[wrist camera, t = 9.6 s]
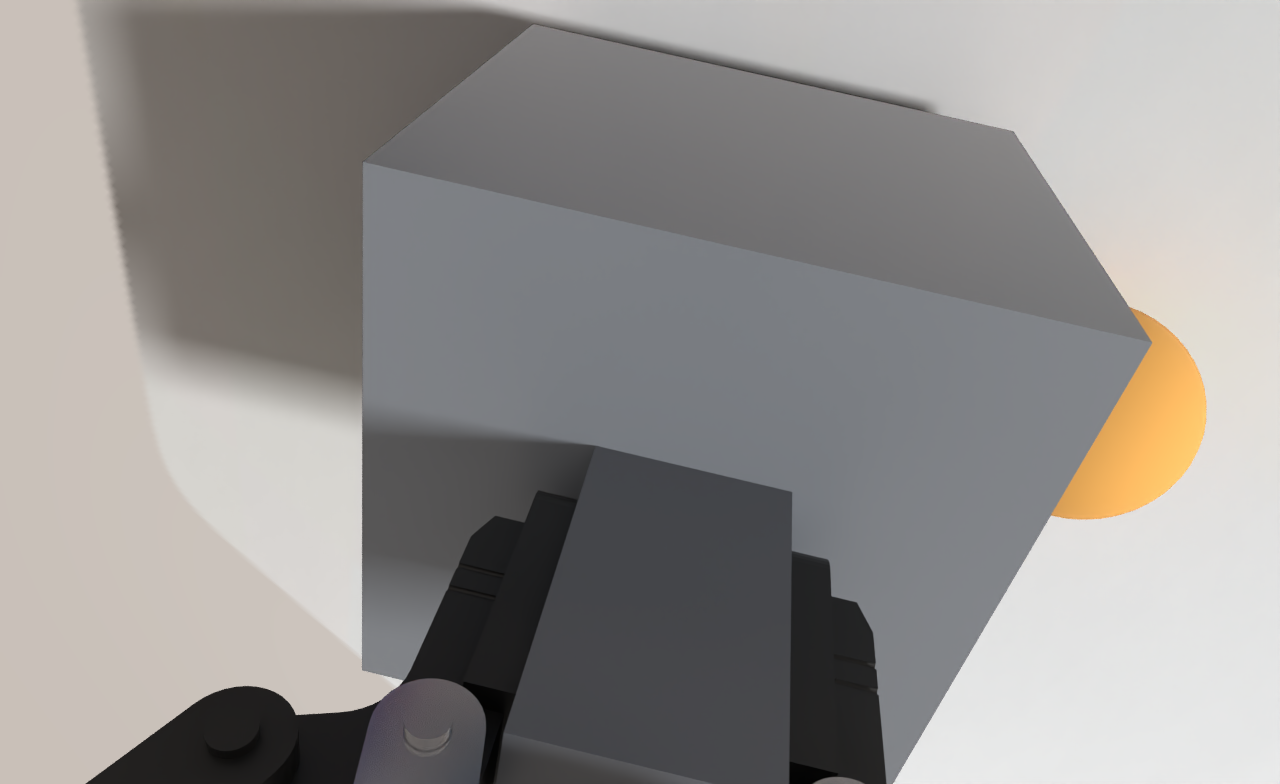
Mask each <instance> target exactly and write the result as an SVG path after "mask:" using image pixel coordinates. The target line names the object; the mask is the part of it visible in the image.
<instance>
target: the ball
mask: <svg viewBox="0 0 1280 784" xmlns="http://www.w3.org/2000/svg"><path fill="white" fill-rule="evenodd" d="M1129 308H1130V307H1129ZM1130 309H1131V311H1132V312H1133V314H1134V315H1135V317H1136V318H1137V320H1138V321H1139V323H1140V324H1141V326H1142V327H1143V329H1144V330H1145V332H1146V334H1147V335H1148V337H1149V338H1150V340H1151V341H1152V344H1151V346H1150V348H1149V349H1148V351H1147V353H1146V355H1145V356H1144V358H1143V360H1142V361H1141V363H1140V365H1139V366H1138V368H1137V370H1136V372H1135V373H1134V375H1133V377H1132V378H1131V380H1130V382H1129V383H1128V385H1127V387H1126V388H1125V390H1124V392H1123V394H1122V395H1121V397H1120V399H1119V400H1118V402H1117V404H1116V405H1115V407H1114V409H1113V411H1112V412H1111V414H1110V416H1109V417H1108V419H1107V421H1106V422H1105V424H1104V426H1103V428H1102V429H1101V431H1100V433H1099V434H1098V436H1097V438H1096V439H1095V441H1094V443H1093V445H1092V446H1091V448H1090V450H1089V451H1088V453H1087V455H1086V456H1085V458H1084V460H1083V462H1082V463H1081V465H1080V467H1079V468H1078V470H1077V472H1076V473H1075V475H1074V477H1073V478H1072V480H1071V482H1070V484H1069V485H1068V487H1067V489H1066V490H1065V492H1064V494H1063V495H1062V497H1061V499H1060V501H1059V502H1058V504H1057V506H1056V507H1055V509H1054V511H1053V512H1052V514H1051V515H1052V516H1057V517H1062V518H1067V519H1102V518H1107V517H1113V516H1117V515H1121V514H1124V513H1127V512H1130V511H1133V510H1136V509H1138V508H1140V507H1142V506H1144V505H1146V504H1148V503H1150V502H1151V501H1153V500H1155V499H1156V498H1158V497H1159V496H1161V495H1162V494H1164V493H1165V492H1166V491H1167V490H1168V489H1170V488H1171V487H1172V486H1173V485H1174V484H1175V483H1176V482H1177V481H1178V480H1179V479H1180V478H1181V477H1182V475H1183V474H1184V473H1185V471H1186V470H1187V469H1188V467H1189V466H1190V465H1191V463H1192V461H1193V459H1194V457H1195V455H1196V453H1197V451H1198V449H1199V447H1200V444H1201V441H1202V438H1203V435H1204V430H1205V424H1206V397H1205V390H1204V385H1203V382H1202V379H1201V375H1200V373H1199V371H1198V368H1197V366H1196V364H1195V362H1194V360H1193V359H1192V357H1191V355H1190V354H1189V352H1188V351H1187V349H1186V348H1185V347H1184V345H1183V344H1182V343H1181V342H1180V341H1179V339H1178V338H1177V337H1176V336H1175V335H1174V334H1173V333H1171V332H1170V331H1169V330H1168V329H1167V328H1166V327H1165V326H1163V325H1162V324H1160V323H1159V322H1158V321H1156V320H1155V319H1153V318H1151V317H1150V316H1148V315H1146V314H1144V313H1142V312H1140V311H1138V310H1135V309H1133V308H1130Z"/></svg>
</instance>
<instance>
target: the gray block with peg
mask: <svg viewBox="0 0 1280 784" xmlns="http://www.w3.org/2000/svg"><path fill="white" fill-rule="evenodd" d="M1151 344H1152V341H1151V340H1150V338H1149V337H1148V335H1147V334H1146V332H1145V330H1144V329H1143V327H1142V326H1141V324H1140V323H1139V321H1138V320H1137V318H1136V317H1135V315H1134V314H1133V312H1132V311H1131V309H1130V308H1129V306H1128V305H1127V303H1126V302H1125V300H1124V299H1123V297H1122V296H1121V294H1120V293H1119V291H1118V290H1117V288H1116V286H1115V285H1114V283H1113V282H1112V280H1111V279H1110V277H1109V276H1108V274H1107V273H1106V271H1105V270H1104V268H1103V267H1102V265H1101V264H1100V262H1099V261H1098V259H1097V258H1096V256H1095V255H1094V253H1093V252H1092V250H1091V249H1090V247H1089V246H1088V244H1087V242H1086V241H1085V239H1084V238H1083V236H1082V235H1081V233H1080V232H1079V230H1078V229H1077V227H1076V226H1075V224H1074V223H1073V221H1072V220H1071V218H1070V217H1069V215H1068V214H1067V212H1066V211H1065V209H1064V208H1063V206H1062V205H1061V203H1060V202H1059V200H1058V199H1057V197H1056V195H1055V194H1054V192H1053V191H1052V189H1051V188H1050V186H1049V185H1048V183H1047V182H1046V180H1045V179H1044V177H1043V176H1042V174H1041V173H1040V171H1039V170H1038V168H1037V167H1036V165H1035V164H1034V162H1033V161H1032V159H1031V158H1030V156H1029V155H1028V153H1027V151H1026V150H1025V148H1024V147H1023V145H1022V144H1021V142H1020V141H1019V139H1018V138H1017V136H1016V135H1015V133H1014V132H1013V131H1009V130H1005V129H1000V128H996V127H991V126H987V125H982V124H978V123H974V122H969V121H965V120H960V119H956V118H951V117H947V116H942V115H938V114H933V113H929V112H924V111H920V110H915V109H911V108H906V107H902V106H898V105H893V104H889V103H884V102H880V101H875V100H871V99H866V98H862V97H857V96H853V95H848V94H844V93H839V92H835V91H830V90H826V89H821V88H817V87H813V86H808V85H804V84H799V83H795V82H790V81H786V80H781V79H777V78H772V77H768V76H763V75H759V74H754V73H750V72H745V71H741V70H737V69H732V68H728V67H723V66H719V65H714V64H710V63H705V62H701V61H696V60H692V59H687V58H683V57H678V56H674V55H669V54H665V53H661V52H656V51H652V50H647V49H643V48H638V47H634V46H629V45H625V44H620V43H616V42H611V41H607V40H602V39H598V38H593V37H589V36H584V35H580V34H576V33H571V32H567V31H562V30H558V29H553V28H549V27H544V26H540V25H535V24H532V25H531V26H530V27H529V28H528V29H526V30H525V31H524V32H523V33H521V34H520V35H519V36H518V37H516V38H515V39H514V40H513V41H511V42H510V43H509V44H508V45H507V46H505V47H504V48H503V49H502V50H500V51H499V52H498V53H497V54H495V55H494V56H493V57H492V58H491V59H489V60H488V61H487V62H486V63H484V64H483V65H482V66H481V67H479V68H478V69H477V70H476V71H474V72H473V73H472V74H471V75H470V76H468V77H467V78H466V79H465V80H463V81H462V82H461V83H460V84H458V85H457V86H456V87H455V88H453V89H452V90H451V91H450V92H449V93H447V94H446V95H445V96H444V97H442V98H441V99H440V100H439V101H437V102H436V103H435V104H434V105H432V106H431V107H430V108H429V109H428V110H426V111H425V112H424V113H423V114H421V115H420V116H419V117H418V118H416V119H415V120H414V121H413V122H411V123H410V124H409V125H408V126H407V127H405V128H404V129H403V130H402V131H400V132H399V133H398V134H397V135H395V136H394V137H393V138H392V139H390V140H389V141H388V142H387V143H386V144H384V145H383V146H382V147H381V148H379V149H378V150H377V151H376V152H374V153H373V154H372V155H371V156H369V157H368V158H367V159H366V160H365V161H363V395H362V670H363V671H368V672H372V673H376V674H380V675H384V676H388V677H392V678H396V679H400V680H405V678H406V677H407V675H408V673H409V671H410V670H411V668H412V665H413V663H414V661H415V659H416V656H417V654H418V652H419V650H420V648H421V645H422V643H423V641H424V639H425V637H426V634H427V632H428V630H429V628H430V626H431V623H432V621H433V619H434V617H435V614H436V612H437V610H438V608H439V606H440V603H441V601H442V599H443V597H444V595H445V592H446V590H448V587H449V584H450V581H451V579H452V577H453V575H454V572H455V570H456V568H458V565H459V561H460V559H461V557H462V555H463V553H464V550H465V548H466V546H467V544H468V542H469V539H470V537H471V536H472V535H473V534H474V533H475V532H476V531H477V530H479V529H480V528H481V527H482V526H483V525H485V524H486V523H487V522H488V521H489V520H491V519H492V518H493V517H494V516H499V517H503V518H507V519H512V520H516V521H520V522H524V523H525V520H526V518H527V515H528V512H529V510H530V507H531V505H532V502H533V499H534V497H535V495H536V493H537V491H538V490H540V491H544V492H548V493H552V494H556V495H561V496H565V497H569V498H573V499H578V502H577V505H576V508H575V511H574V515H573V518H572V521H571V524H570V527H569V530H568V533H567V536H566V540H565V543H564V546H563V549H562V552H561V555H560V558H559V561H558V564H557V568H556V571H555V574H554V577H553V580H552V583H551V586H550V589H549V593H548V596H547V599H546V602H545V605H544V608H543V611H542V614H541V618H540V621H539V624H538V627H537V630H536V633H535V636H534V639H533V642H532V646H531V649H530V652H529V655H528V658H527V661H526V664H525V667H524V671H523V674H522V677H521V680H520V683H519V686H518V689H517V692H516V696H515V699H514V702H513V705H512V708H511V711H510V714H509V717H508V720H507V724H506V727H505V730H504V734H503V740H502V747H501V754H500V760H499V767H498V774H497V780H496V784H789V745H790V656H791V566H792V551H795V552H799V553H803V554H807V555H811V556H816V557H820V558H824V559H828V560H829V563H830V573H831V596H832V597H837V598H841V599H845V600H849V601H853V602H857V604H858V605H859V607H860V609H861V611H862V613H863V615H864V617H865V618H866V620H867V622H868V624H869V626H870V628H871V630H872V631H873V637H874V648H875V659H876V664H875V669H876V670H877V681H878V690H877V695H879V704H880V715H881V726H882V737H883V748H884V760H885V771H886V782H887V784H893V782H894V781H895V779H896V777H897V776H898V774H899V772H900V771H901V769H902V767H903V765H904V764H905V762H906V760H907V759H908V757H909V755H910V754H911V752H912V750H913V748H914V747H915V745H916V743H917V742H918V740H919V738H920V737H921V735H922V733H923V731H924V730H925V728H926V726H927V725H928V723H929V721H930V720H931V718H932V716H933V714H934V713H935V711H936V709H937V708H938V706H939V704H940V703H941V701H942V699H943V698H944V696H945V694H946V692H947V691H948V689H949V687H950V686H951V684H952V682H953V681H954V679H955V677H956V675H957V674H958V672H959V670H960V669H961V667H962V665H963V664H964V662H965V660H966V658H967V657H968V655H969V653H970V652H971V650H972V648H973V647H974V645H975V643H976V641H977V640H978V638H979V636H980V635H981V633H982V631H983V630H984V628H985V626H986V624H987V623H988V621H989V619H990V618H991V616H992V614H993V613H994V611H995V609H996V608H997V606H998V604H999V602H1000V601H1001V599H1002V597H1003V596H1004V594H1005V592H1006V591H1007V589H1008V587H1009V585H1010V584H1011V582H1012V580H1013V579H1014V577H1015V575H1016V574H1017V572H1018V570H1019V568H1020V567H1021V565H1022V563H1023V562H1024V560H1025V558H1026V557H1027V555H1028V553H1029V551H1030V550H1031V548H1032V546H1033V545H1034V543H1035V541H1036V540H1037V538H1038V536H1039V535H1040V533H1041V531H1042V529H1043V528H1044V526H1045V524H1046V523H1047V521H1048V519H1049V518H1050V516H1051V514H1052V512H1053V511H1054V509H1055V507H1056V506H1057V504H1058V502H1059V501H1060V499H1061V497H1062V495H1063V494H1064V492H1065V490H1066V489H1067V487H1068V485H1069V484H1070V482H1071V480H1072V478H1073V477H1074V475H1075V473H1076V472H1077V470H1078V468H1079V467H1080V465H1081V463H1082V462H1083V460H1084V458H1085V456H1086V455H1087V453H1088V451H1089V450H1090V448H1091V446H1092V445H1093V443H1094V441H1095V439H1096V438H1097V436H1098V434H1099V433H1100V431H1101V429H1102V428H1103V426H1104V424H1105V422H1106V421H1107V419H1108V417H1109V416H1110V414H1111V412H1112V411H1113V409H1114V407H1115V405H1116V404H1117V402H1118V400H1119V399H1120V397H1121V395H1122V394H1123V392H1124V390H1125V388H1126V387H1127V385H1128V383H1129V382H1130V380H1131V378H1132V377H1133V375H1134V373H1135V372H1136V370H1137V368H1138V366H1139V365H1140V363H1141V361H1142V360H1143V358H1144V356H1145V355H1146V353H1147V351H1148V349H1149V348H1150V346H1151Z"/></svg>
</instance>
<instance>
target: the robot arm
mask: <svg viewBox="0 0 1280 784" xmlns="http://www.w3.org/2000/svg"><path fill="white" fill-rule="evenodd" d="M577 502H578V499H573V498H569V497H565V496H561V495H556V494H552V493H548V492H544V491H540V490H538V491H537V493H536V495H535V497H534V499H533V502H532V505H531V507H530V510H529V512H528V515H527V518H526V520H525V523H524V522H520V521H516V520H512V519H507V518H503V517H499V516H494V517H493V518H492V519H491V520H489V521H488V522H487V523H486V524H485V525H483V526H482V527H481V528H480V529H479V530H477V531H476V532H475V533H474V534H473V535H472V536H471V537H470V539H469V542H468V544H467V546H466V548H465V550H464V553H463V555H462V557H461V559H460V561H459V565H458V568H456V570H455V572H454V575H453V577H452V579H451V581H450V584H449V587H448V590H446V592H445V595H444V597H443V599H442V601H441V603H440V606H439V608H438V610H437V612H436V614H435V617H434V619H433V621H432V623H431V626H430V628H429V630H428V632H427V634H426V637H425V639H424V641H423V643H422V645H421V648H420V650H419V652H418V654H417V656H416V659H415V661H414V663H413V665H412V668H411V670H410V671H409V673H408V675H407V677H406V678H405V680H404V681H403V682H402V683H401V685H400V686H399V687H397V688H396V689H394V690H392V691H391V692H390V693H389V694H387V695H386V696H385V697H384V698H383V699H382V700H380V701H379V702H377V703H375V704H373V705H370V706H367V707H365V708H362V709H358V710H354V711H348V712H340V713H324V714H307V715H295V712H294V710H293V708H292V707H291V705H290V704H289V703H288V702H287V701H286V700H285V699H284V698H283V697H282V696H280V695H279V694H277V693H275V692H273V691H271V690H268V689H264V688H260V687H252V686H243V687H233V688H228V689H224V690H221V691H218V692H215V693H213V694H210V695H208V696H206V697H204V698H202V699H201V700H199V701H198V702H196V703H195V704H193V705H192V706H191V707H189V708H188V709H187V710H185V711H184V712H182V713H181V714H180V715H178V716H177V717H176V718H174V719H173V720H172V721H170V722H169V723H167V724H166V725H165V726H163V727H162V728H161V729H159V730H158V731H157V732H155V733H154V734H153V735H151V736H150V737H148V738H147V739H146V740H144V741H143V742H142V743H140V744H139V745H138V746H136V747H135V748H134V749H132V750H131V751H130V752H128V753H127V754H126V755H124V756H123V757H121V758H120V759H119V760H117V761H116V762H115V763H113V764H112V765H110V766H109V767H108V768H107V769H105V770H104V771H102V772H101V773H100V774H98V775H97V776H96V777H94V778H93V779H92V780H90V781H89V782H87V783H86V784H496V780H497V774H498V767H499V760H500V754H501V747H502V740H503V734H504V730H505V727H506V724H507V720H508V717H509V714H510V711H511V708H512V705H513V702H514V699H515V696H516V692H517V689H518V686H519V683H520V680H521V677H522V674H523V671H524V667H525V664H526V661H527V658H528V655H529V652H530V649H531V646H532V642H533V639H534V636H535V633H536V630H537V627H538V624H539V621H540V618H541V614H542V611H543V608H544V605H545V602H546V599H547V596H548V593H549V589H550V586H551V583H552V580H553V577H554V574H555V571H556V568H557V564H558V561H559V558H560V555H561V552H562V549H563V546H564V543H565V540H566V536H567V533H568V530H569V527H570V524H571V521H572V518H573V515H574V511H575V508H576V505H577ZM875 664H876V659H875V648H874V637H873V631H872V630H871V628H870V626H869V624H868V622H867V620H866V618H865V617H864V615H863V613H862V611H861V609H860V607H859V605H858V604H857V602H853V601H849V600H845V599H841V598H837V597H832V596H831V573H830V563H829V560H828V559H824V558H820V557H816V556H811V555H807V554H803V553H799V552H795V551H792V566H791V656H790V745H789V784H887V782H886V771H885V760H884V748H883V737H882V726H881V715H880V704H879V695H877V690H878V681H877V670H876V669H875Z"/></svg>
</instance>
